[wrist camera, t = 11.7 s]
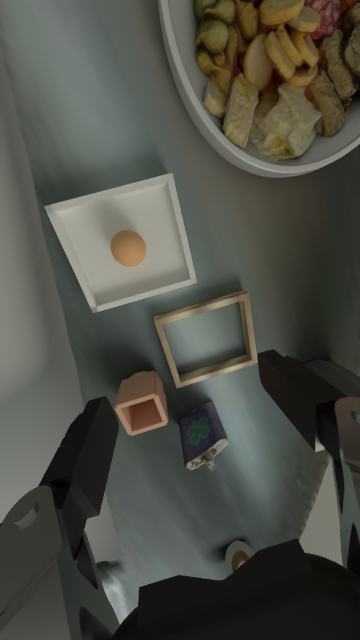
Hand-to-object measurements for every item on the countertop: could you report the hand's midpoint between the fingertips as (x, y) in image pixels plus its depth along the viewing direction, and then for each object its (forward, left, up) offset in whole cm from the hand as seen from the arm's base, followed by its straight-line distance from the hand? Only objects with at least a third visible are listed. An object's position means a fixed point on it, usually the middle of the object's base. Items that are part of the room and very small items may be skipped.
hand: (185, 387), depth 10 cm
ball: (+2, -8, -19) cm, 21 cm away
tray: (+2, -8, -22) cm, 24 cm away
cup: (+8, +16, -22) cm, 29 cm away
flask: (0, +27, -23) cm, 35 cm away
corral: (-6, +10, -22) cm, 25 cm away
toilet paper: (0, +91, -23) cm, 94 cm away
